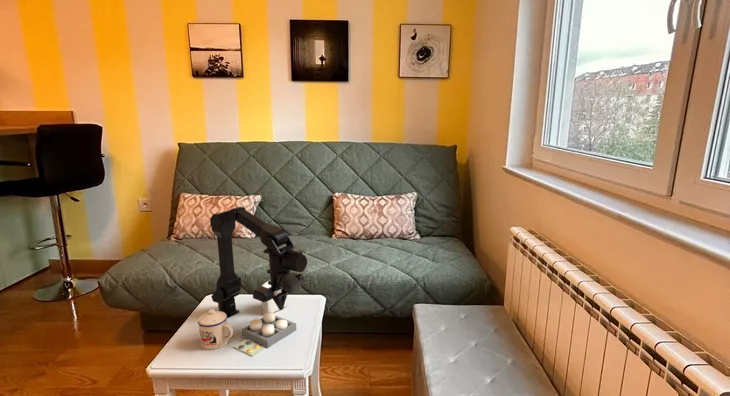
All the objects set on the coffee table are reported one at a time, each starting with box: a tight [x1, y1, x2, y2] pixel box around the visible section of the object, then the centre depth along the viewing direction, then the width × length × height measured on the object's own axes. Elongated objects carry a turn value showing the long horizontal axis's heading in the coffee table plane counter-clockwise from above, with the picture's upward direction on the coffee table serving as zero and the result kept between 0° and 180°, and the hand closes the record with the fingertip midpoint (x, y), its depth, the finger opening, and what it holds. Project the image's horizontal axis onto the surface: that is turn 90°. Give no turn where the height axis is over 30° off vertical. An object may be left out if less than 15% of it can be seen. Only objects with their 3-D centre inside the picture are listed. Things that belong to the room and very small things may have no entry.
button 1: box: [249, 318, 262, 333], centre depth 138 cm, size 4×4×3 cm
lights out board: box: [233, 315, 297, 357], centre depth 137 cm, size 13×19×2 cm
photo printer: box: [260, 280, 288, 315], centre depth 155 cm, size 10×4×12 cm, turn 141°
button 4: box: [275, 319, 288, 330], centre depth 140 cm, size 4×4×3 cm
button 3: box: [262, 312, 276, 324], centre depth 143 cm, size 4×4×3 cm
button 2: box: [262, 324, 275, 338], centre depth 134 cm, size 4×4×3 cm
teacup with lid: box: [197, 308, 234, 350], centre depth 132 cm, size 12×9×12 cm
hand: (281, 309), depth 138 cm, fingers closed
